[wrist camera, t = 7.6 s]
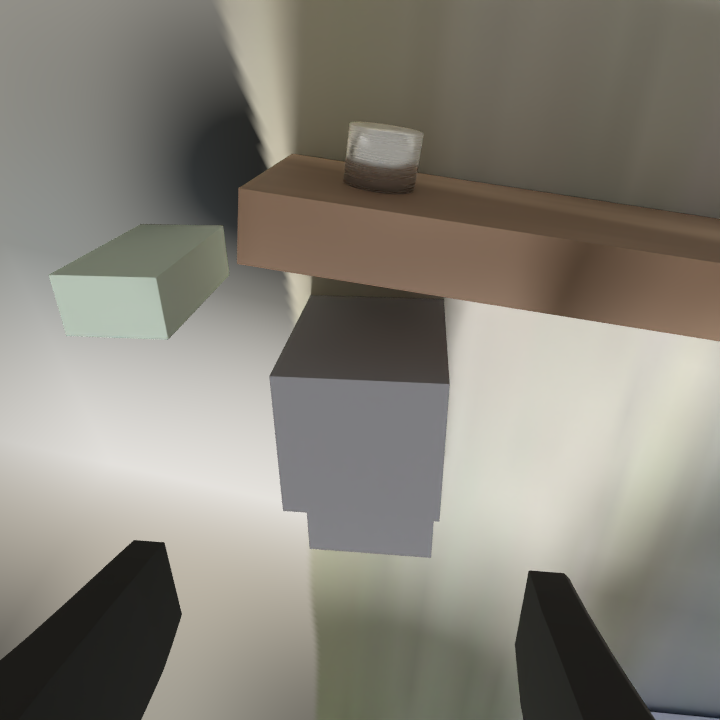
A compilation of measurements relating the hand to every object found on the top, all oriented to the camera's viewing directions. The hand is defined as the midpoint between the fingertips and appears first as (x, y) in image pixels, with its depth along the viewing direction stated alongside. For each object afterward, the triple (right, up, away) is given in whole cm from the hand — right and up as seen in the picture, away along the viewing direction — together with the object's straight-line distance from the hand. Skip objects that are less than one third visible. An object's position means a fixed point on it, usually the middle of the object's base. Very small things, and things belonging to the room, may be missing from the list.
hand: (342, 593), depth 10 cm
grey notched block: (+1, +3, +8) cm, 8 cm away
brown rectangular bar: (+5, +9, +4) cm, 11 cm away
